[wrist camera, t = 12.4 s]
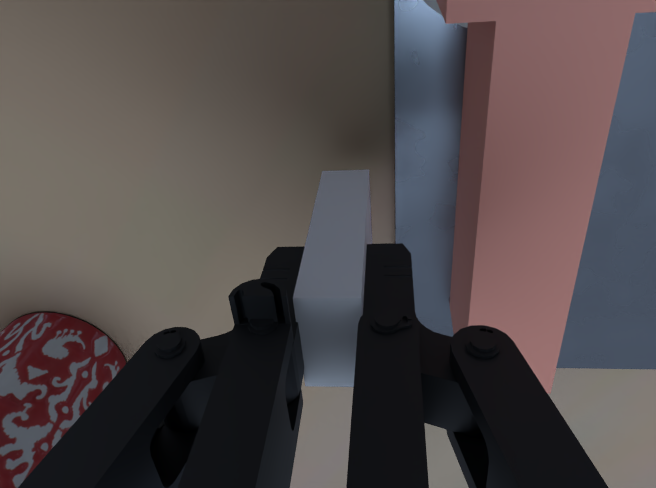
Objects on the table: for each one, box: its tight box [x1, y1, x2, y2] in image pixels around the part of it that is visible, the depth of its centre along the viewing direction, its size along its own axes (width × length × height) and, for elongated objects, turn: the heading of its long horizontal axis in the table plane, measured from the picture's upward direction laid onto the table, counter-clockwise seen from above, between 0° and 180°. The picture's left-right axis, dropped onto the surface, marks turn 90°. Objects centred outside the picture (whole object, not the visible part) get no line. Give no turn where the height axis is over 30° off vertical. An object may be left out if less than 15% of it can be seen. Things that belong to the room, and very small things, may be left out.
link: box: [436, 0, 656, 393], centre depth 17 cm, size 19×6×5 cm, turn 4°
